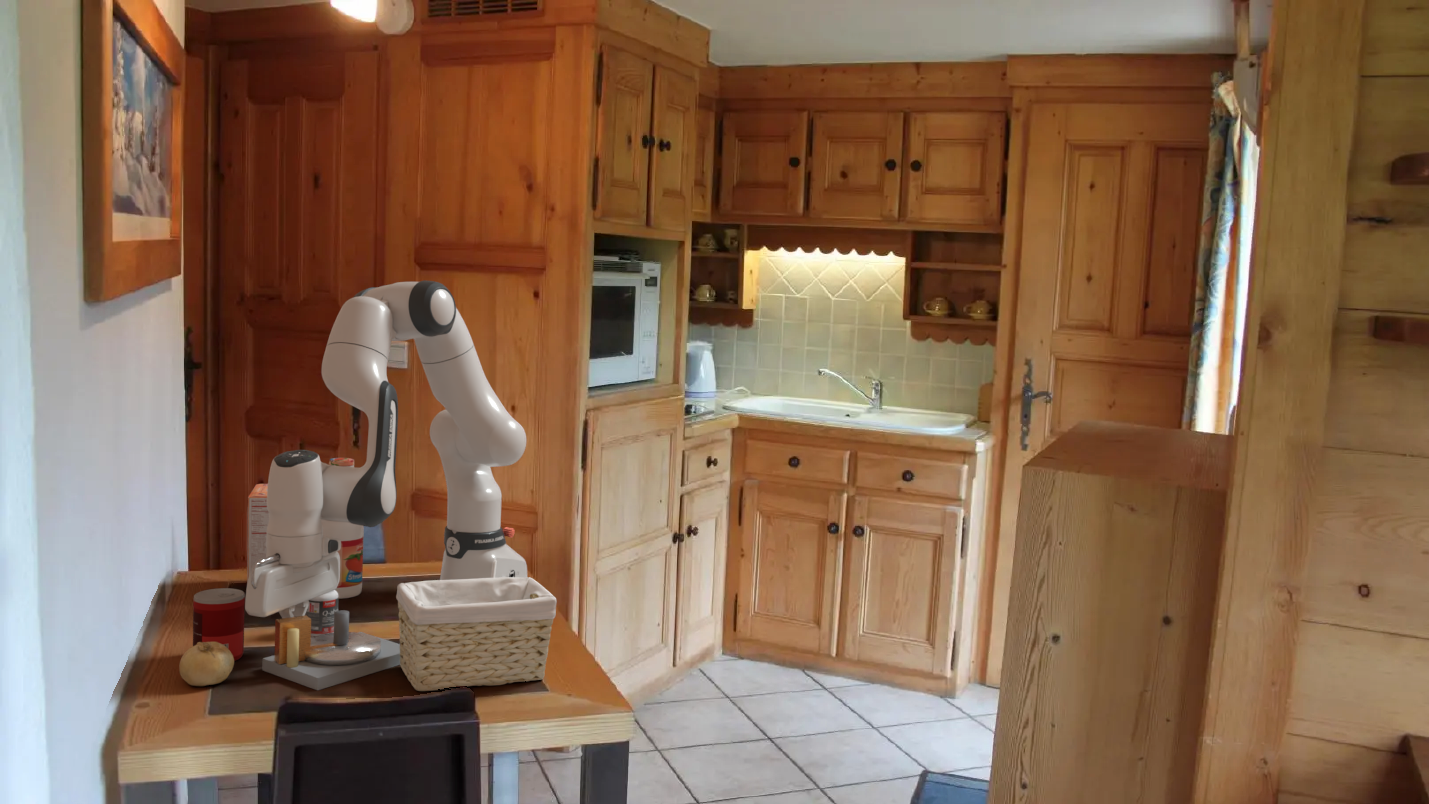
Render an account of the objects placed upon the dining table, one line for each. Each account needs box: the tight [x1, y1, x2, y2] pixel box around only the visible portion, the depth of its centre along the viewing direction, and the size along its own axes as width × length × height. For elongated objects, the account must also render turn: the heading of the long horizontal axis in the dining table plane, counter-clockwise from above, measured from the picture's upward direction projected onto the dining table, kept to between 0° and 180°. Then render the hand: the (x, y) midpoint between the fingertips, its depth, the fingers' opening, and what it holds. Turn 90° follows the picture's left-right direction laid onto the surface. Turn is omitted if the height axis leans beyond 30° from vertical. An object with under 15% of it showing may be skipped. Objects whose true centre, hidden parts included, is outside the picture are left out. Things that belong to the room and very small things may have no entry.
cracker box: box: [246, 483, 269, 582], centre depth 232 cm, size 14×6×21 cm, turn 15°
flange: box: [274, 615, 381, 665], centre depth 188 cm, size 13×17×7 cm
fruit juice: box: [321, 457, 365, 600], centre depth 231 cm, size 9×9×28 cm
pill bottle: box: [305, 590, 339, 637], centre depth 206 cm, size 6×6×10 cm
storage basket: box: [395, 576, 557, 692], centre depth 189 cm, size 24×16×15 cm
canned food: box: [192, 587, 246, 662], centre depth 189 cm, size 8×8×11 cm
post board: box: [261, 609, 400, 691], centre depth 189 cm, size 20×14×9 cm
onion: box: [178, 642, 235, 687], centre depth 178 cm, size 8×8×7 cm
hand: (293, 628), depth 190 cm, fingers closed
